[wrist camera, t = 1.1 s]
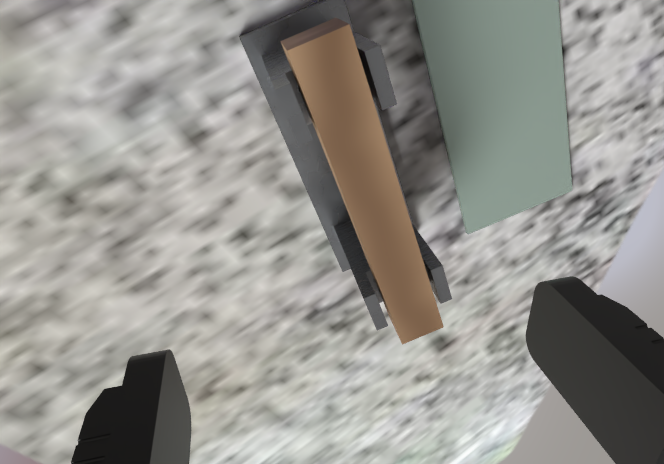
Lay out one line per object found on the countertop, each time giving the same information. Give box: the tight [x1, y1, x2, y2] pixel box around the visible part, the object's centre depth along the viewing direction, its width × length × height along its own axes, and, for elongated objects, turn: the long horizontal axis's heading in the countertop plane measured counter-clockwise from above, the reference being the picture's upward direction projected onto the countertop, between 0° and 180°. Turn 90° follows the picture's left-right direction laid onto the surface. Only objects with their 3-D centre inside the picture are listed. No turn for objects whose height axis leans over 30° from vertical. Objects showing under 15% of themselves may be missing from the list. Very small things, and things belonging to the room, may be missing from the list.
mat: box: [412, 0, 572, 234], centre depth 35 cm, size 10×24×1 cm, turn 20°
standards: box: [239, 0, 452, 330], centre depth 31 cm, size 7×20×10 cm, turn 20°
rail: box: [280, 18, 443, 344], centre depth 27 cm, size 3×20×3 cm, turn 20°
